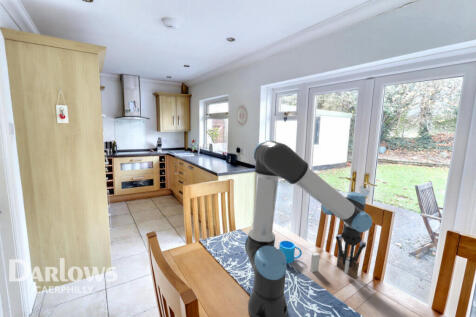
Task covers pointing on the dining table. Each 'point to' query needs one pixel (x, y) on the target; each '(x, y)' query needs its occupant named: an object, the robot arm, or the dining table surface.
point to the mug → (289, 250)
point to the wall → (316, 261)
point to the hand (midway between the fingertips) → (346, 271)
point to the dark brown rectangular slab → (353, 269)
